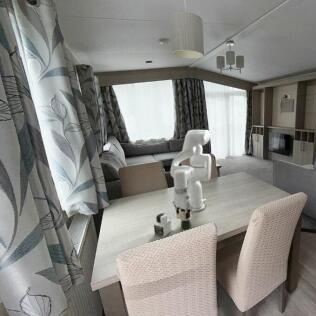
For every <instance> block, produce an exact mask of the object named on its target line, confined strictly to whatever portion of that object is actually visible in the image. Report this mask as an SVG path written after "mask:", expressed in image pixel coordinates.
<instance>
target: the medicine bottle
mask: <svg viewBox="0 0 316 316" xmlns="http://www.w3.org/2000/svg"><path fill="white" fill-rule="evenodd" d="M155 219H156V222H154V223H153V231H154V235H155V236H159V237H162V238H166V236H167V235H168V234H170V233H171V232H172V231H173V229H172V220H170V219H168V213H166V212H165V213H164V212H163V213H159V214H157V215H156V216H155Z"/></svg>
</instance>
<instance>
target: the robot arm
mask: <svg viewBox="0 0 316 316" xmlns="http://www.w3.org/2000/svg"><path fill="white" fill-rule="evenodd" d="M210 140H211V132H210V131H209V130H208V129H190V130H188V131H187V133H186V134H185V137H184V141H183V146H182V150H181V151H180V152H179V153H178V154H177V155H176V156H175V157H174V158H173V160H172V162H171V164H170V165H171V166H170V172H169V173H170V176H171V178H173V186H174V187H173V188H174V193H173V201H172V204H173V207H174V208H175V209H174V210H175V213H176V214H178V213H179V209H180V208H182V209H185V211H186V219H188V218H190V212H191V213H192V211H191V210H193V212H201V211H203V210H204V209H205V207H206V206H205V204H204V203H205V202H207V199H206V198H204V199H203V190H202V189H203V187H202V183H201V182H209V181H210V180H211V176H212V156H211V155H210V154H209V153H203V145H204V146H205V145H206V144H208V142H209V141H210ZM187 159H189V164H190V165H180V164H181V163H182V162H183V161H185V160H187ZM187 208H188V211H187ZM190 219H191V218H190Z"/></svg>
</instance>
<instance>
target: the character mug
mask: <svg viewBox="0 0 316 316" xmlns="http://www.w3.org/2000/svg"><path fill="white" fill-rule="evenodd" d="M187 211H188V208H187ZM194 213H195V211H193V210H191V212H190V218H188V219H186V211H185V209H182V208H180V209H179V213H178V214H177V213H176V216H175V217H176V220H177V219H179V220H180V221H181V222H180V228H181V229H182V230H189V229H190V228H191V227H192V223H191V218H192V215H194Z"/></svg>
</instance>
